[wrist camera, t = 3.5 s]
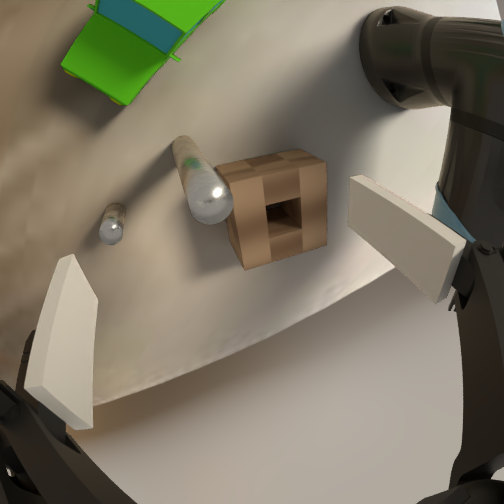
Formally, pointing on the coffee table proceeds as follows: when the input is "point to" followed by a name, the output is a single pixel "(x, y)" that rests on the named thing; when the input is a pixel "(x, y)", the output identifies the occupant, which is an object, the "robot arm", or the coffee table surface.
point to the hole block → (278, 219)
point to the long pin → (201, 183)
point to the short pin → (112, 224)
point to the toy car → (132, 42)
